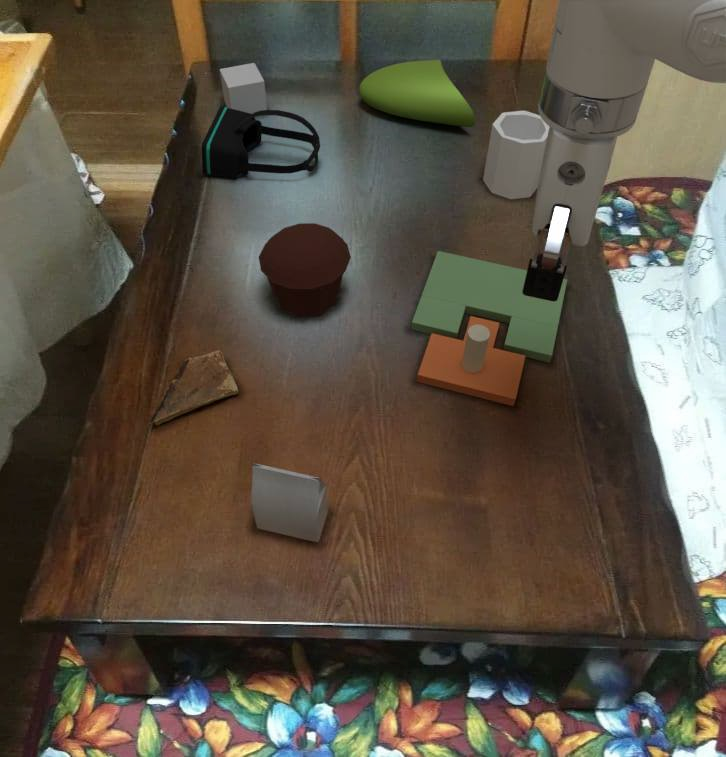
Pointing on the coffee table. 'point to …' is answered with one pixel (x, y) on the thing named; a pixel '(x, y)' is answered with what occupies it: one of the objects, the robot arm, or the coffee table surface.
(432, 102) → the green curved wedge
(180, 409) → the shard
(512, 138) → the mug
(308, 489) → the grey piece
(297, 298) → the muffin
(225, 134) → the virtual reality headset
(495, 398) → the tab pad
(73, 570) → the coffee table surface
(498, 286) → the notch pad
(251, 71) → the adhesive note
